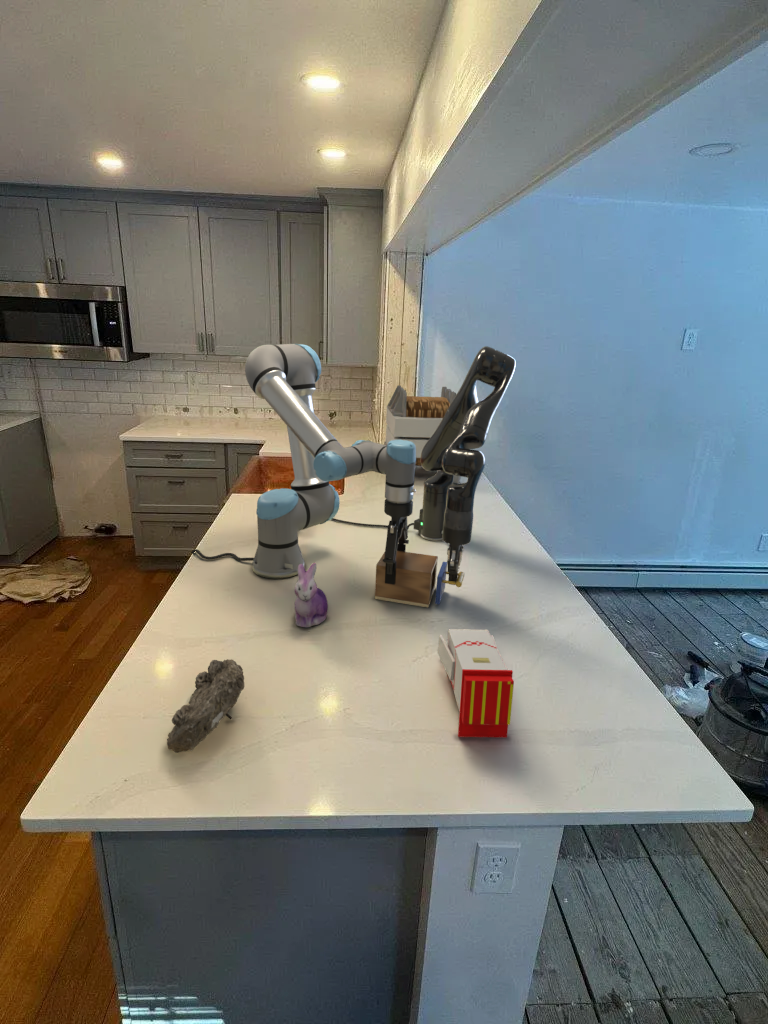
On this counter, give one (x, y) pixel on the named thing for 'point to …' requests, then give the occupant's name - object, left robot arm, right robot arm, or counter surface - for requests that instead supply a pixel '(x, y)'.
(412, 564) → the cabinet
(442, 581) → the drawer
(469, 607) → the counter surface
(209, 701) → the fossil
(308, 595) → the figurine
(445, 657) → the toy
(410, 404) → the transformer
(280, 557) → the left robot arm
